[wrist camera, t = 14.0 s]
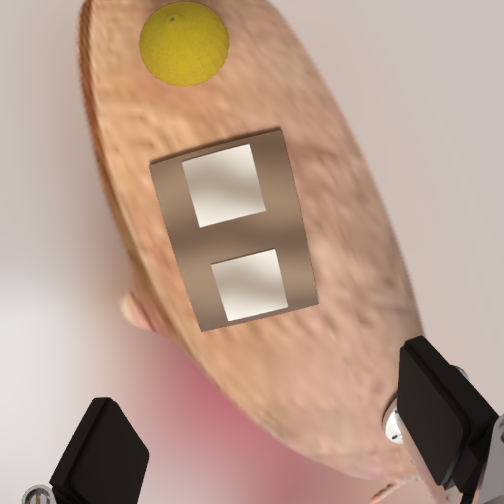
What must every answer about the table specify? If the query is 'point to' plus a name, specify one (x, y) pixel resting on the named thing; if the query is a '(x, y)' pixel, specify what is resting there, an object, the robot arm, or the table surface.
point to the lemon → (184, 43)
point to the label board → (237, 230)
